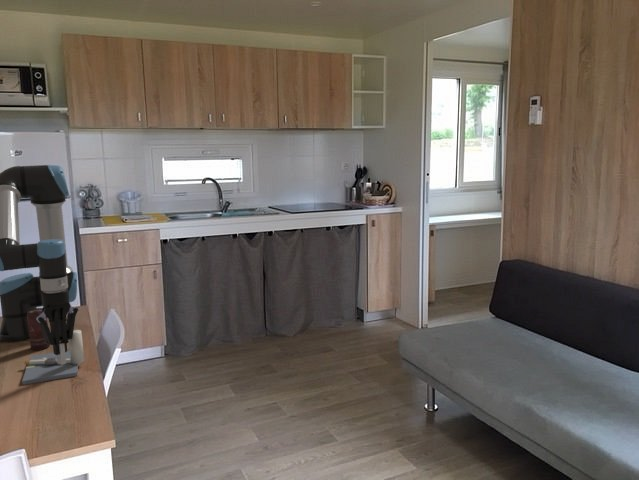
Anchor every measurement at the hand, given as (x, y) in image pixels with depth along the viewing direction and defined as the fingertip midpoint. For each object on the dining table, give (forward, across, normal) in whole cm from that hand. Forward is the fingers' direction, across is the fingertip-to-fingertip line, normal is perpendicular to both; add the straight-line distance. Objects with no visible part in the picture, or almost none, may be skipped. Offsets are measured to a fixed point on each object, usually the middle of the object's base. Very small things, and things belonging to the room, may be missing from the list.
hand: (61, 363), depth 166 cm
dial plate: (+4, +1, +8) cm, 8 cm away
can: (+4, +9, +29) cm, 30 cm away
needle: (+2, +2, +7) cm, 7 cm away
